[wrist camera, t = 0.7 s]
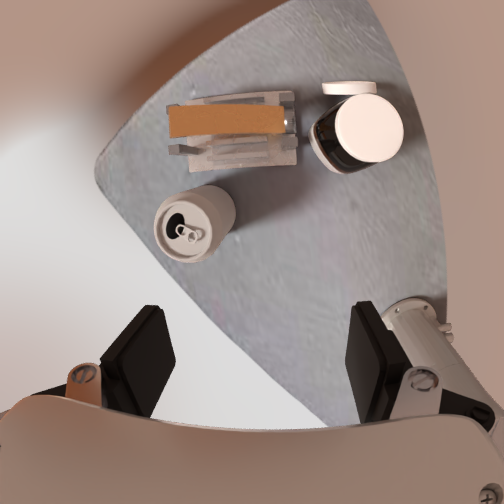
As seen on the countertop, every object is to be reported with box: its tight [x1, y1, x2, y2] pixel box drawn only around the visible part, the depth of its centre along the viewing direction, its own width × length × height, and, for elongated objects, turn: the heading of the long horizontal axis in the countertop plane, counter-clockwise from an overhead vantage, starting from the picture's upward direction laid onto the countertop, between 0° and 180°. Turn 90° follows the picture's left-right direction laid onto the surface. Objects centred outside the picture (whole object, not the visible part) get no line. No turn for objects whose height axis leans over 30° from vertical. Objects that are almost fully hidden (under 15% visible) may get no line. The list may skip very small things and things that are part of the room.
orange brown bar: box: [168, 104, 297, 138], centre depth 25 cm, size 13×3×2 cm, turn 93°
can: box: [154, 185, 236, 263], centre depth 32 cm, size 8×8×12 cm
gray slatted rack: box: [166, 91, 298, 172], centre depth 30 cm, size 14×10×8 cm
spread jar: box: [308, 81, 404, 174], centre depth 27 cm, size 12×11×12 cm
